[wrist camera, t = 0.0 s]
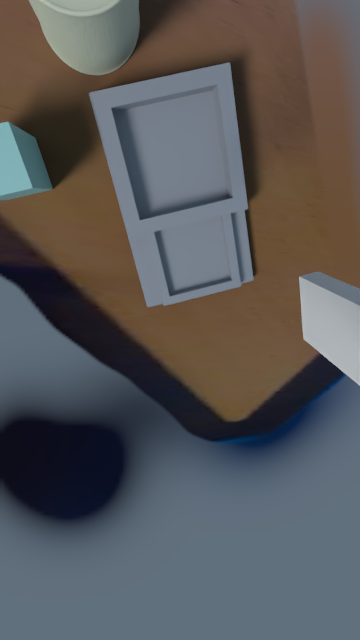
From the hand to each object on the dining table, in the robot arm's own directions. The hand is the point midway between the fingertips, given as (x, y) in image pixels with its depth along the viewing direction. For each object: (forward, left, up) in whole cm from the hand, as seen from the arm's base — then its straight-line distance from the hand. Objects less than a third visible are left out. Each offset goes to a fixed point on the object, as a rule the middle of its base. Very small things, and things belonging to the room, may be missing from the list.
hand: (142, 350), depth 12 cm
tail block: (-10, -9, -28) cm, 31 cm away
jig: (-4, +7, -28) cm, 29 cm away
